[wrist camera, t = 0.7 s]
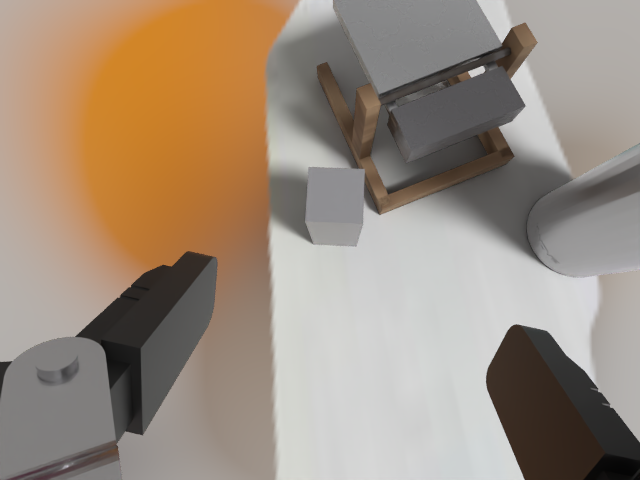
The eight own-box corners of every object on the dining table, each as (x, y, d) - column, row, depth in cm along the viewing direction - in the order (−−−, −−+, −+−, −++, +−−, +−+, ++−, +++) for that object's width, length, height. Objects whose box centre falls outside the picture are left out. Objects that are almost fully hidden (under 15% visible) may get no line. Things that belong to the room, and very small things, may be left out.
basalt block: (357, 205, 38) (364, 169, 29) (356, 246, 38) (362, 223, 28) (316, 203, 39) (308, 167, 29) (313, 244, 38) (305, 221, 28)
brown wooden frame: (505, 164, 38) (575, 103, 27) (379, 214, 38) (397, 174, 27) (433, 32, 42) (468, -70, 31) (317, 77, 42) (310, -10, 30)
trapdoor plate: (516, 119, 31) (534, 100, 28) (400, 165, 31) (407, 150, 28) (440, -17, 34) (449, -46, 31) (333, 24, 34) (332, -2, 31)
